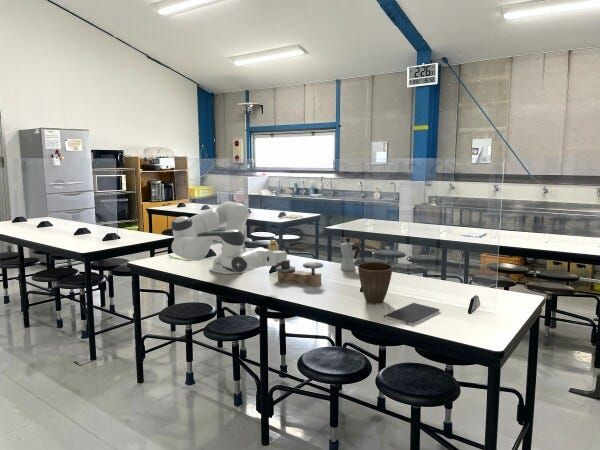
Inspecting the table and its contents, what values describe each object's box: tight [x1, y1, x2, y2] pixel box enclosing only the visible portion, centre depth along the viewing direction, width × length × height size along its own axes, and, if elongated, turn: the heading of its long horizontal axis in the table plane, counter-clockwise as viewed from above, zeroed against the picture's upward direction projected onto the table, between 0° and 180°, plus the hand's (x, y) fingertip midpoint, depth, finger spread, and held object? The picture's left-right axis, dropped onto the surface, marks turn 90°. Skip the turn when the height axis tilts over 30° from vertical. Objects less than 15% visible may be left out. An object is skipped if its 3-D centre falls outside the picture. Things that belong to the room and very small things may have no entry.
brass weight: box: [267, 239, 280, 267], centre depth 221 cm, size 5×5×12 cm
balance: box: [275, 259, 324, 287], centre depth 233 cm, size 26×10×10 cm, turn 61°
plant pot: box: [357, 261, 394, 305], centre depth 200 cm, size 15×15×16 cm
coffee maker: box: [339, 237, 361, 272], centre depth 256 cm, size 15×9×18 cm, turn 42°
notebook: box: [383, 302, 440, 326], centre depth 184 cm, size 13×2×21 cm
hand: (274, 251), depth 222 cm, fingers closed on brass weight, 5 cm apart
